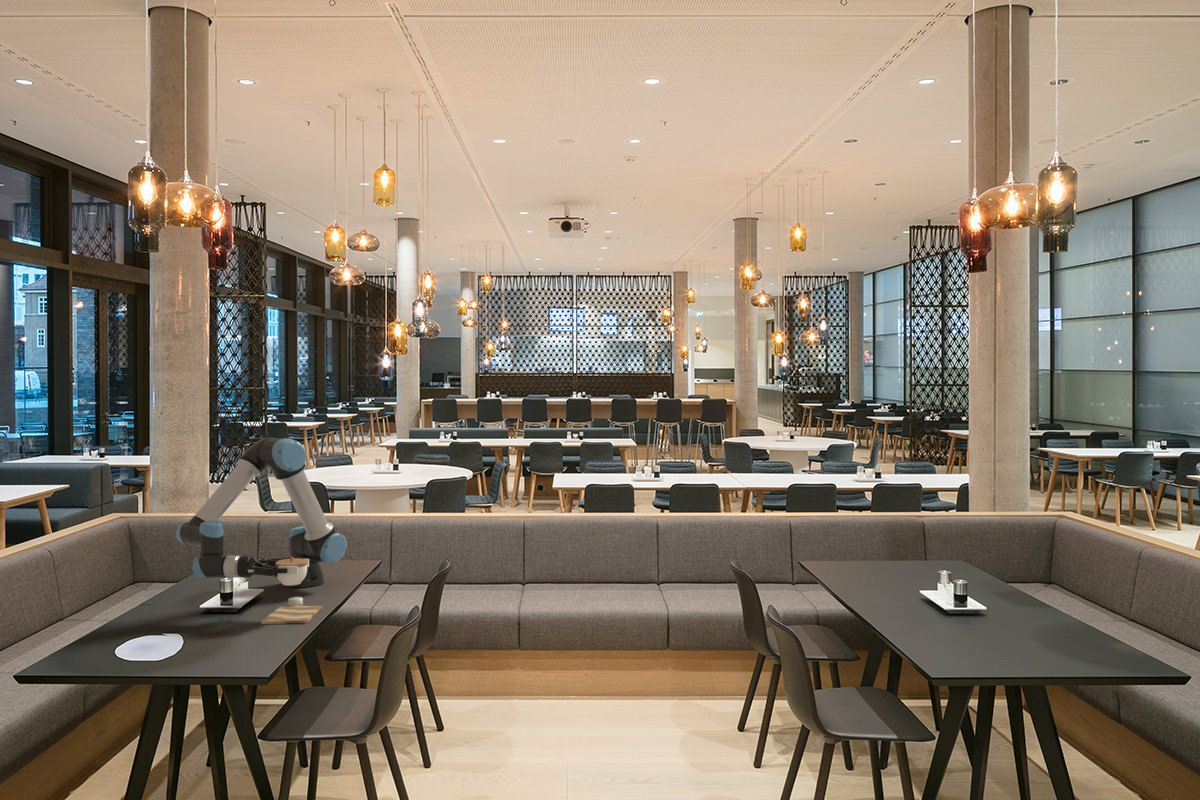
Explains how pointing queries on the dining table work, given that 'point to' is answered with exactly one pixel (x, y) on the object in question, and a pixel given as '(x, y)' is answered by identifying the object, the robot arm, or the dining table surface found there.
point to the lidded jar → (293, 578)
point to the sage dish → (295, 601)
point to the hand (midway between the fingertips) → (303, 566)
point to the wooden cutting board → (291, 614)
